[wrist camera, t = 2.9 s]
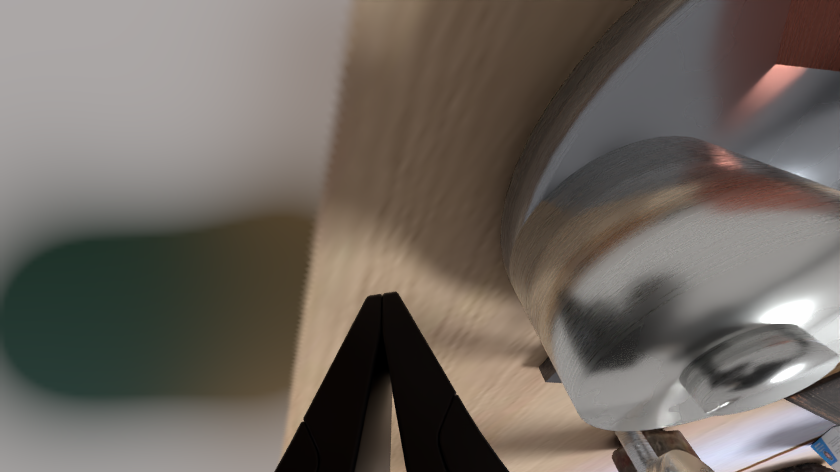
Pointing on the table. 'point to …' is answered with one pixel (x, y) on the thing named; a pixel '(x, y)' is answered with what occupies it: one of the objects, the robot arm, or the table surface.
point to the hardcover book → (821, 396)
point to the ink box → (829, 447)
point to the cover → (681, 283)
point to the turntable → (694, 93)
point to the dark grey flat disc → (807, 468)
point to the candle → (654, 447)
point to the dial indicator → (642, 444)
